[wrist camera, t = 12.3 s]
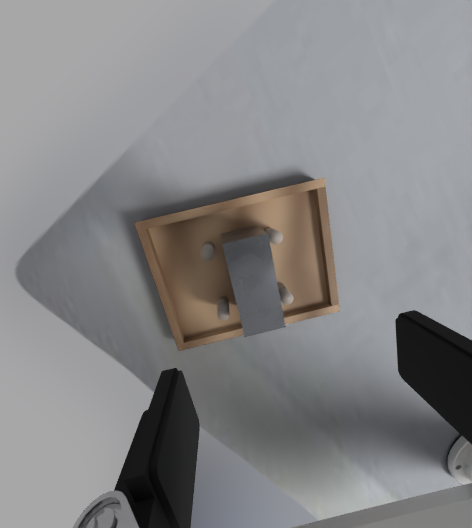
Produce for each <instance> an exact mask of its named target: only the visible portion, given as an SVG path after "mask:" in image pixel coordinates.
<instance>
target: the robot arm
mask: <svg viewBox="0 0 472 528" xmlns="http://www.w3.org/2000/svg"><path fill="white" fill-rule="evenodd" d="M396 339H397V357H398V371H399V374H400V376H401V377H402V379H403V380H404V381H405V382H406V383H407V384H408V385H409V386H410V387H412V388H413V389H414V390H415V391H416V392H417V393H418V394H419V395H420V396H421V397H422V398H423V399H424V400H425V401H426V402H427V403H428V404H429V405H430V406H432V407H433V408H434V409H435V410H436V411H437V412H438V413H439V414H440V415H441V416H442V417H443V418H444V419H445V420H446V421H447V422H448V423H449V424H450V425H451V426H453V427H454V428H455V429H456V430H457V431H458V432H459V433H460V434H461V435H462V436H461V437H460V438H459V439H458V440H457V441H456V442H455V444H454V445H453V447H452V448H451V450H450V453H449V456H448V462H447V464H448V469H449V471H450V473H451V474H452V475H453V477H454V478H455V479H456V480H457V481H458V482H459V483H460V484H462V485H461V486H457V487H453V488H449V489H445V490H441V491H437V492H433V493H429V494H424V495H420V496H416V497H412V498H408V499H404V500H400V501H396V502H392V503H388V504H384V505H380V506H376V507H372V508H368V509H364V510H360V511H356V512H352V513H348V514H344V515H340V516H336V517H332V518H328V519H324V520H320V521H317V522H313V523H309V524H305V525H301V526H297V527H293V528H472V340H470V339H468V338H466V337H464V336H462V335H460V334H459V333H457V332H455V331H453V330H451V329H449V328H447V327H446V326H444V325H442V324H440V323H438V322H436V321H434V320H432V319H431V318H429V317H427V316H425V315H423V314H421V313H419V312H418V311H409V312H405V313H401V314H399V316H398V318H397V319H396ZM198 440H199V419H198V416H197V413H196V410H195V408H194V405H193V402H192V399H191V396H190V393H189V390H188V387H187V384H186V381H185V378H184V375H183V373H182V371H181V370H180V371H178V370H177V368H173V369H169V370H165V371H162V373H161V375H160V378H159V381H158V384H157V386H156V389H155V392H154V395H153V398H152V401H151V404H150V406H149V409H148V410H146V411H145V412H144V413H143V415H142V417H141V420H140V422H139V425H138V428H137V431H136V433H135V436H134V439H133V441H132V444H131V447H130V450H129V452H128V455H127V458H126V460H125V463H124V465H123V468H122V471H121V474H120V476H119V479H118V481H117V484H116V487H115V490H114V491H110V492H107V493H105V494H103V495H101V496H100V497H98V498H97V499H96V500H94V501H93V502H92V503H91V504H90V505H89V506H88V507H87V508H86V509H85V510H84V511H83V513H82V514H81V515H80V517H79V518H78V520H77V521H76V523H75V525H74V526H73V528H190V526H191V514H192V504H193V493H194V483H195V471H196V461H197V449H198Z"/></svg>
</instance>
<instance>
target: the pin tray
mask: <svg viewBox="0 0 472 528" xmlns="http://www.w3.org/2000/svg"><path fill="white" fill-rule="evenodd" d="M135 226H136V229H137V232H138V235H139V238H140V241H141V244H142V246H143V249H144V252H145V255H146V258H147V261H148V264H149V267H150V270H151V273H152V276H153V278H154V281H155V284H156V287H157V290H158V293H159V296H160V299H161V302H162V305H163V308H164V310H165V313H166V316H167V319H168V322H169V325H170V328H171V331H172V334H173V337H174V340H175V342H176V345H177V348H178V351H180V350H185V349H189V348H193V347H197V346H201V345H205V344H209V343H213V342H217V341H221V340H225V339H229V338H233V337H237V336H241V335H244V332H243V328H242V324H241V319H240V315H239V311H238V307H237V303H236V299H235V295H234V291H233V287H232V283H231V279H230V275H229V270H228V266H227V262H226V258H225V254H224V250H223V246H222V240H221V233H226V232H230V231H234V230H238V229H243V228H247V227H251V226H257V227H258V228H260V229H262V230H264V231H265V232H267V233H268V235H269V241H270V246H271V251H272V257H273V262H274V267H275V273H276V278H277V283H278V289H279V294H280V299H281V305H282V310H283V316H284V321H285V324H289V323H293V322H297V321H301V320H305V319H309V318H313V317H318V316H322V315H326V314H330V313H334V312H338V311H340V309H339V300H338V292H337V283H336V275H335V266H334V257H333V249H332V240H331V231H330V223H329V214H328V206H327V197H326V188H325V180H324V178H321V179H317V180H312V181H308V182H304V183H300V184H296V185H291V186H287V187H283V188H279V189H274V190H270V191H266V192H262V193H257V194H253V195H249V196H245V197H241V198H236V199H232V200H228V201H224V202H219V203H215V204H211V205H207V206H203V207H198V208H194V209H190V210H186V211H181V212H177V213H173V214H169V215H164V216H160V217H156V218H152V219H148V220H143V221H139V222H135Z"/></svg>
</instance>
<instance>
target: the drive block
mask: <svg viewBox="0 0 472 528" xmlns="http://www.w3.org/2000/svg"><path fill="white" fill-rule="evenodd" d="M221 240H222V246H223V250H224V254H225V258H226V262H227V266H228V270H229V275H230V279H231V283H232V287H233V291H234V295H235V299H236V303H237V307H238V311H239V315H240V319H241V324H242V328H243V332H244V336H245V337H246V336H250V335H254V334H258V333H263V332H267V331H271V330H275V329H279V328H283V327H286V326H285V321H284V316H283V310H282V305H281V299H280V294H279V289H278V283H277V278H276V273H275V267H274V262H273V257H272V251H271V246H270V241H269V235H268V233H267V232H265V231H264V230H262V229H260V228H258V227H257V226H251V227H247V228H243V229H238V230H234V231H230V232H226V233H221Z"/></svg>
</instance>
